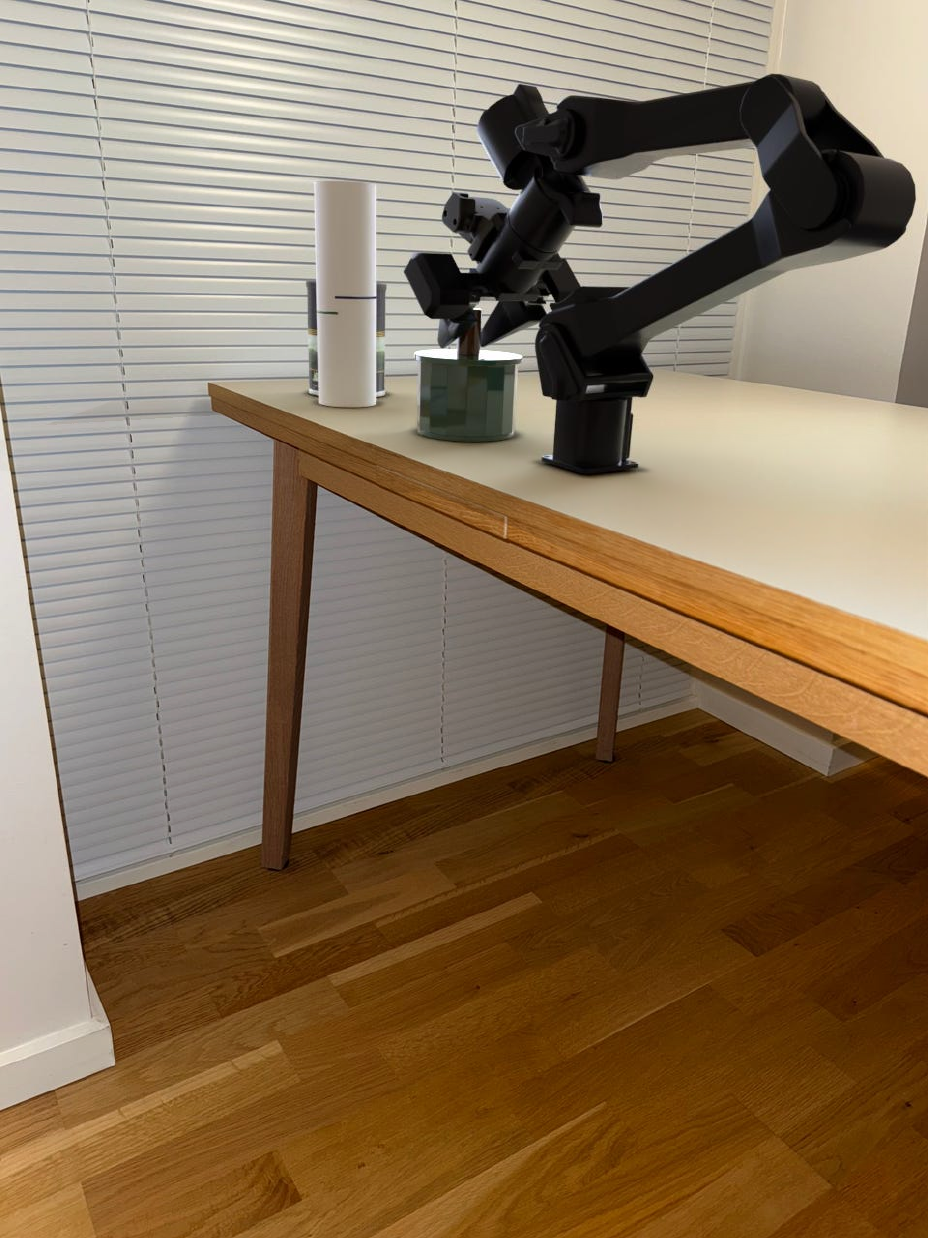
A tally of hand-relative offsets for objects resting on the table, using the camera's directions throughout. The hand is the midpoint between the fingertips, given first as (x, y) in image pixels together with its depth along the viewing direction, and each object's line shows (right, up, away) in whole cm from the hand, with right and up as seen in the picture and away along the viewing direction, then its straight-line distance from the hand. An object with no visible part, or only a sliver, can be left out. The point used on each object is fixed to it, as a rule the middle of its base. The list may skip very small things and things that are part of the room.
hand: (460, 344), depth 97 cm
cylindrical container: (-14, -2, +20) cm, 24 cm away
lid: (+1, -2, 0) cm, 2 cm away
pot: (+1, -9, +2) cm, 9 cm away
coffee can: (-15, +1, +28) cm, 32 cm away
